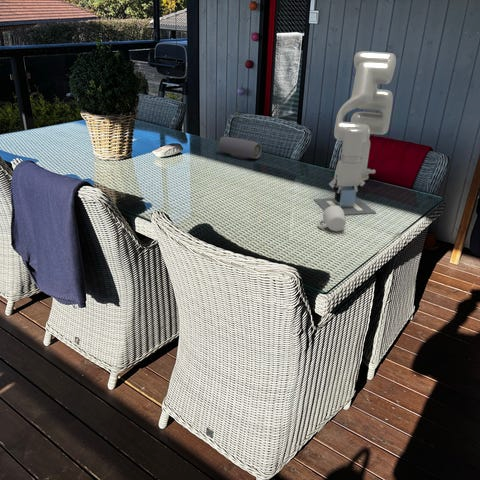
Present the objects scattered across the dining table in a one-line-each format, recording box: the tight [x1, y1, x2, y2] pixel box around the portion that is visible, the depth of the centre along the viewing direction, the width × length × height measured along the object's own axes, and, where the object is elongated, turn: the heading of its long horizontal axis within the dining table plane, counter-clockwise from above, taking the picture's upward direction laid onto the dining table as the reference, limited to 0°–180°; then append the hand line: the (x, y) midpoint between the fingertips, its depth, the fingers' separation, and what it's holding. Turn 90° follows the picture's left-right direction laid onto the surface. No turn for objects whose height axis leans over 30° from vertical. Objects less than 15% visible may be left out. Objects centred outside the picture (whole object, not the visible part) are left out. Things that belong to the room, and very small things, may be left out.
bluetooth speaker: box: [217, 136, 263, 160], centre depth 262 cm, size 23×9×10 cm, turn 58°
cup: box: [317, 206, 347, 232], centre depth 180 cm, size 11×8×8 cm
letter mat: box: [313, 196, 377, 217], centre depth 202 cm, size 20×18×1 cm
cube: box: [335, 186, 357, 205], centre depth 200 cm, size 6×6×6 cm
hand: (344, 200), depth 201 cm, fingers closed on cube, 5 cm apart
